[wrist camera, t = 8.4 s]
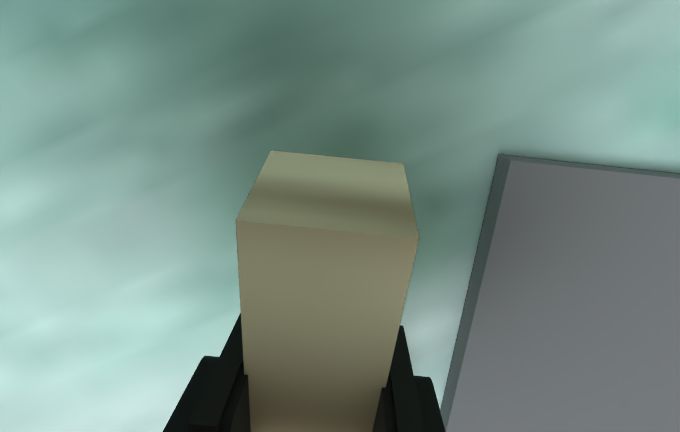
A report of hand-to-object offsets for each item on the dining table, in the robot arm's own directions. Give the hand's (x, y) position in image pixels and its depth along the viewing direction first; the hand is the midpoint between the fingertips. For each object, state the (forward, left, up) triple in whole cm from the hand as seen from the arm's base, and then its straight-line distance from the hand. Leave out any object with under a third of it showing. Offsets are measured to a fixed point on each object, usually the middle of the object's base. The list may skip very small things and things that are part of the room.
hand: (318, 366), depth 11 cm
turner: (+2, 0, -1) cm, 2 cm away
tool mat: (+6, +11, -6) cm, 14 cm away
